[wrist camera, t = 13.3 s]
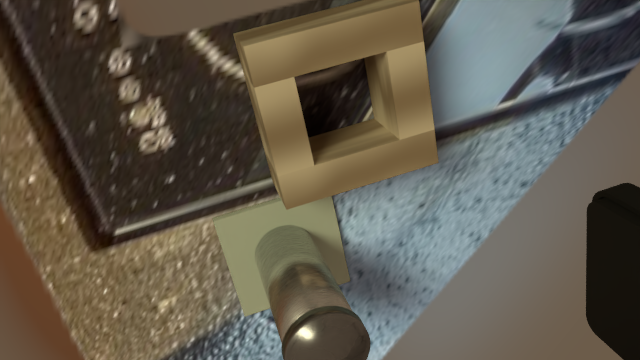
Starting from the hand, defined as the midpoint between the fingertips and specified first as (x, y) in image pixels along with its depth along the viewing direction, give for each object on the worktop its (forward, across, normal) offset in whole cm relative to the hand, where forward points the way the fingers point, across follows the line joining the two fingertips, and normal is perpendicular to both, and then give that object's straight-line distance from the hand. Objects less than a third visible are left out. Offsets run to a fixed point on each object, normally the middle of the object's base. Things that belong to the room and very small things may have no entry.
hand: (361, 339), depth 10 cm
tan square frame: (+30, -7, +5) cm, 31 cm away
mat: (+30, -1, +16) cm, 35 cm away
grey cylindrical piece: (+30, -1, +16) cm, 34 cm away
